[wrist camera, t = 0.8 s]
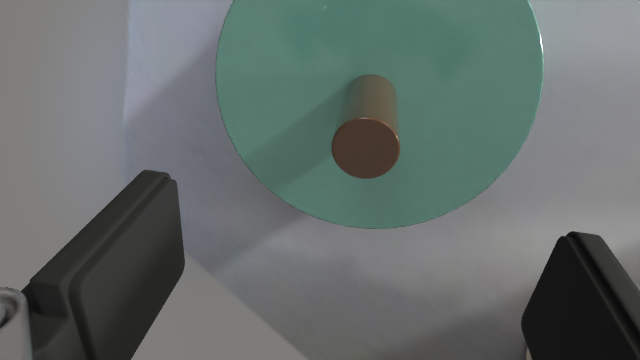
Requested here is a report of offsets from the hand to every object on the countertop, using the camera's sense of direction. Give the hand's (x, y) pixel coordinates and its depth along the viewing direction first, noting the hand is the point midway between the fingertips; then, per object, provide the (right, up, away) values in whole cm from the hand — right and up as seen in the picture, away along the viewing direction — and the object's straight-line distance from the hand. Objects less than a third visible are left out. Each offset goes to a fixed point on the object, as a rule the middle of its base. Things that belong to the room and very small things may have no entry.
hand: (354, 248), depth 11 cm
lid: (+1, +6, +9) cm, 11 cm away
